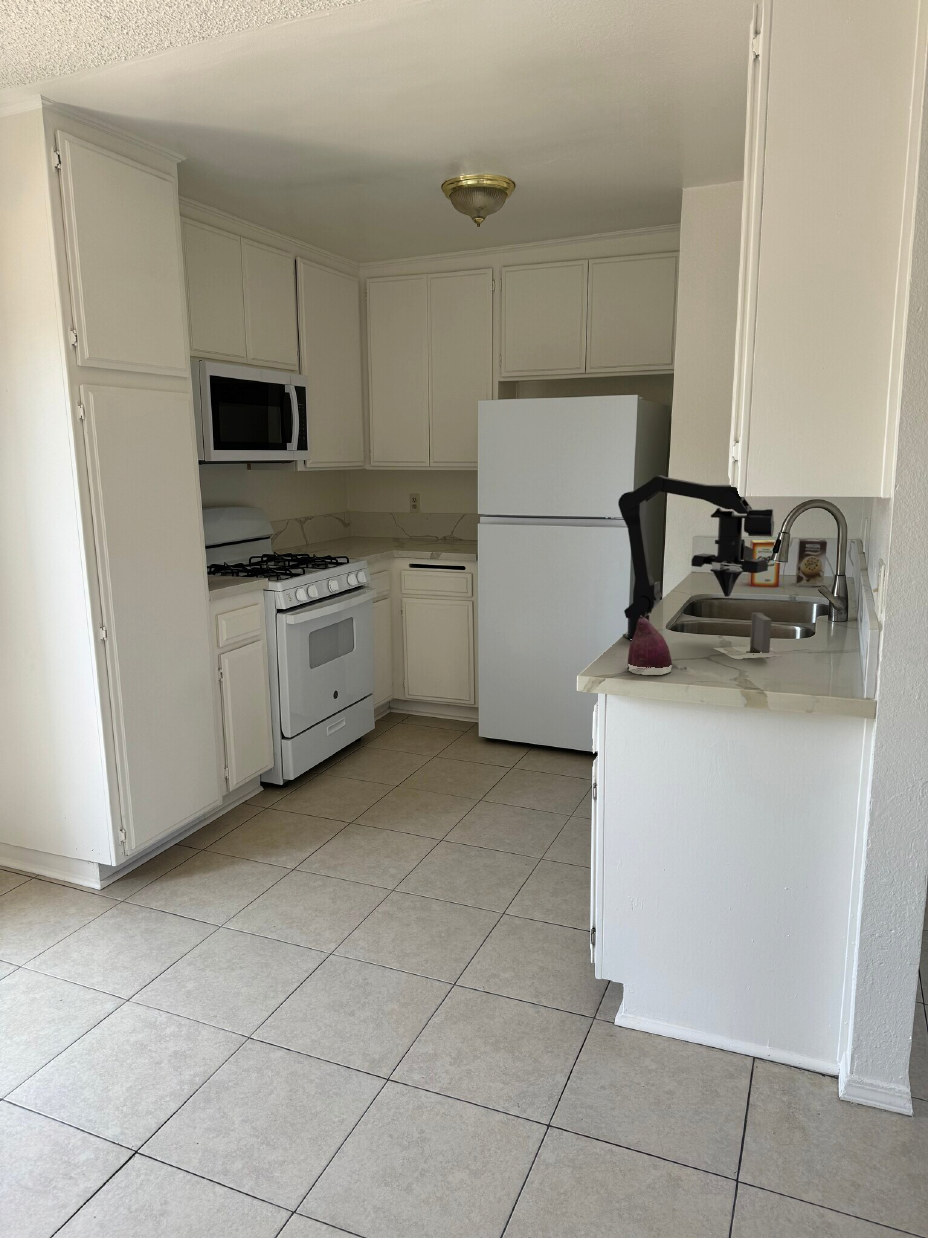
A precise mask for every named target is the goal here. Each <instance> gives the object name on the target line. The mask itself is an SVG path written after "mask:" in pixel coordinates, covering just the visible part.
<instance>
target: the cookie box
mask: <svg viewBox="0 0 928 1238" xmlns="http://www.w3.org/2000/svg"><path fill="white" fill-rule="evenodd" d="M797 543H798V545H797V558H796V559H797V560H796V566H795V567H796V569H795V579H794V583H795V586H796V587H811V586H820V585H823V586H824V581H825V571H826V559H827V558H826V557H827V547H828V541H827V540H826V539H811V538H810V539H809V538H803V539H802V538H798V542H797Z"/></svg>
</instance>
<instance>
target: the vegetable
mask: <svg viewBox="0 0 928 1238" xmlns="http://www.w3.org/2000/svg"><path fill="white" fill-rule="evenodd" d="M672 661H673V660H672V656H671V652H670V648H669V646H668V644H667V642H666V639H665V638H664V636H663V635H662V634H661V633H660V632H659V630H657V629H656V628H655V626H654V625H652V623H651V621H650V620H649V621H648V620H647V619H646V618H644V617H642V616H640V618H639V620H638V623H637V629H636V632H635V635H634V637H633V639H632V641H631V642H630V645H629V649H628V656H627V665H628V664H630V665H633V666H637V667H646V668H647V667H648V668H649V667H650V668H651V667H655V668H663V667H669V666H670V665H672V666H673V663H672Z"/></svg>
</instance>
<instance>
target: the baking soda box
mask: <svg viewBox="0 0 928 1238" xmlns="http://www.w3.org/2000/svg"><path fill="white" fill-rule="evenodd" d="M774 543H775V539H760V540H759V539H750V545H749V547H750V548H752V549H754V553H753V557H752V559H753V558H754V559H764V560H766V562H767V564H768V571H764V572H760V573H748V579H747V583H748V585H749V587H757V588H759V587H761V588H762V587H763V588H764V587H765V588H766V587H767V588H779V587H780V585H779V584H780V570H781V562H780V563H776V562H774V561H772V560H771V555H772V549H773V546H774Z"/></svg>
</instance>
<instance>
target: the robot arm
mask: <svg viewBox="0 0 928 1238" xmlns="http://www.w3.org/2000/svg"><path fill="white" fill-rule="evenodd" d="M731 485H732V484H705V483H700V482H695V481H690V480H683V479H679V478H678V479H677V478H673V477H667V476H664V475H656V476H654V477H652V478H651V479H650V480H649V481H648V482H646V483H645V484H644V483H643V485H641V486H640V487H638V488H636V489H634V490H630V491H627V492H625V493H623V494H621V496H620V497H619V499H618V503H617V504H618V510H619V511H620V515H621V518H622V519H623V521H624V523H625V525H626V527H627V534H628V539H629V546H630V553H631V554H630V555H631V562H632V567H633V575H634V584H633V591H632V603H631V604H629V606H628V607H626V608H625V609H624V611H623V613H624V616H625V618H626V619H627V633H623V634H622V637H624V636H625V637H624V638H626V639H627V638H629V639H633V637H634V635H635V632H636V629H637V623H638V620H639V618H640V616H642V617H644V618H646V619H647V620H648V621H649V622H650V614H652V612H653V610H654V609H655V608H656V607H658V605H659V604H660V603H661V602H660V601H661V598H662V597H663V594H662V592H661V581H656V582H655V580H654V578H653V576H652V570H651V564H650V558H649V550H648V543H647V537H646V535H647V534H646V529H645V519H646V515H647V514H646V513H647V503H648V502H650V500H651V499H653V498H654V497H656V496H657V495H659V493H667V494H672V495H675V496H677V495H678V496H683V497H685V498H686V497H687V498H692V499H698V500H703V501H706V502H708V503H710V504H712V505H714V506H717V508H716V510H715V511H714V512H713V513H711V514H710V518H715V519H718V529H717V539H715V540H714V544H715V545H717V550H716V551H717V553H716V554H717V555H716V554H714V553H713V554H712V553H705V552H704V553H699V554H694V555H693V556H692V558H691V562H690V563H691V565H690V566H691V567H697V568H702V567H703V566H704V565H711V566H712V567H711V569H710V572H712V573H713V575H714V576H715V578H716V580H717V581H718V584H719V586H720V588H721V591H722V593H723V595H724V597H725V598H727V597H728V598H730V596H731V595H732V592H733V590H734V587H735V584H736V582H737V580H738V579H739V578H740V576H741V575H742V573H743V574H744V573H748V574H749V573H760V572H764V571H768V564H767V562H766V560H764V559H754V558H753V559H752V557H753V553H754V549H752V548H750V546H748V545H745V544H746V541H745V539H744V538H742V535H743V532H744V533H746V534H747V536H748V537H760V538H761V537H765V538H766V537H767V538H768V537H769V538H772V537H773V536H774V531H775V520H774V509H773V508H766V509H753V508H752V506H751V504H750V503H749V502H748V501H747V500H746V496H745V497H740V496H739V494H738V491H737V488H736V487H731ZM721 508H722V509H721ZM723 509H725V510H723ZM736 513H737V514H736ZM743 519H744V520H743ZM626 634H627V635H626ZM629 639H628V640H629Z"/></svg>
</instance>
